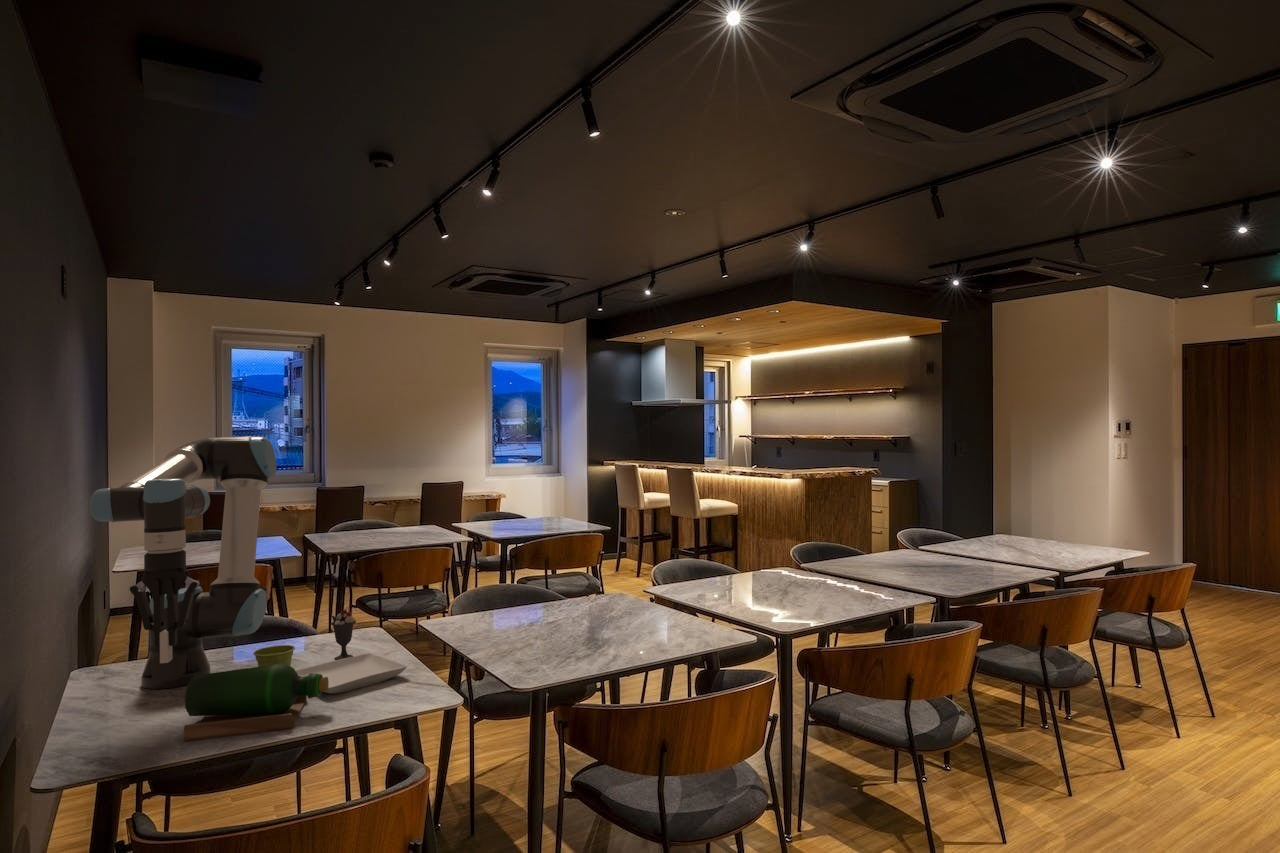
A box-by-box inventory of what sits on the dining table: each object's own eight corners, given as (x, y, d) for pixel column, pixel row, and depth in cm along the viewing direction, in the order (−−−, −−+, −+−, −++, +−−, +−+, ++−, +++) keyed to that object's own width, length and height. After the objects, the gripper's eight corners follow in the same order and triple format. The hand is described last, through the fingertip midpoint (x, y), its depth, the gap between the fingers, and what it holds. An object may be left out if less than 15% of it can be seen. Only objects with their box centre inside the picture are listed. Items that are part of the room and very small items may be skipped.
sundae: (361, 656, 206) (360, 603, 207) (340, 662, 200) (340, 608, 201) (347, 653, 210) (346, 601, 210) (326, 659, 204) (325, 605, 204)
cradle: (211, 711, 165) (211, 697, 165) (306, 700, 170) (306, 687, 170) (184, 741, 148) (184, 726, 148) (291, 729, 153) (291, 714, 153)
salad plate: (290, 683, 184) (289, 670, 184) (369, 663, 200) (369, 651, 200) (326, 702, 170) (326, 687, 170) (409, 679, 185) (408, 665, 186)
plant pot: (247, 686, 182) (246, 651, 182) (284, 676, 190) (283, 642, 190) (265, 693, 176) (264, 657, 177) (302, 682, 184) (302, 648, 184)
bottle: (202, 715, 163) (332, 703, 168) (179, 727, 153) (319, 714, 157) (203, 666, 165) (332, 655, 169) (181, 675, 154) (320, 664, 159)
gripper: (122, 555, 150) (123, 669, 150) (193, 551, 154) (194, 663, 153) (137, 550, 158) (138, 659, 157) (204, 546, 161) (205, 653, 160)
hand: (166, 661), depth 155 cm, fingers closed
